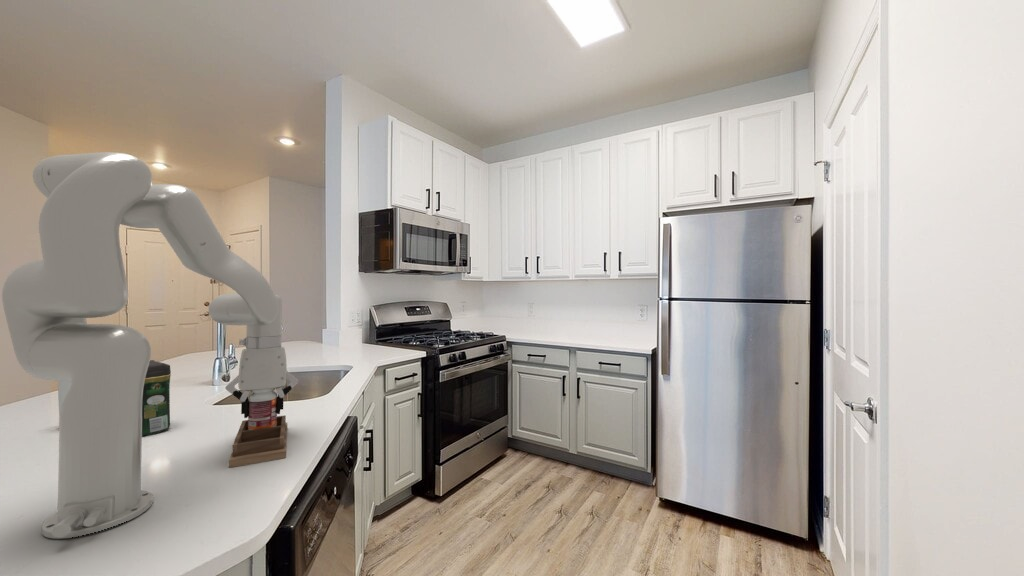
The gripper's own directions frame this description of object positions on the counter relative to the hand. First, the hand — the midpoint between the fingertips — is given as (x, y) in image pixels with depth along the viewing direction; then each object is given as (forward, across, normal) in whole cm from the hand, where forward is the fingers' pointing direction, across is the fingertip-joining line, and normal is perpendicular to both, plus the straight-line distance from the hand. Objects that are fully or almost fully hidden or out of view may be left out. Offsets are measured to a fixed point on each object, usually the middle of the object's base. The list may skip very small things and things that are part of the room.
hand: (262, 413), depth 99 cm
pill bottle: (+4, 0, 0) cm, 4 cm away
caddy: (+6, 0, -4) cm, 8 cm away
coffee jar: (+7, -27, +21) cm, 35 cm away
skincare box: (+7, -43, +33) cm, 54 cm away
